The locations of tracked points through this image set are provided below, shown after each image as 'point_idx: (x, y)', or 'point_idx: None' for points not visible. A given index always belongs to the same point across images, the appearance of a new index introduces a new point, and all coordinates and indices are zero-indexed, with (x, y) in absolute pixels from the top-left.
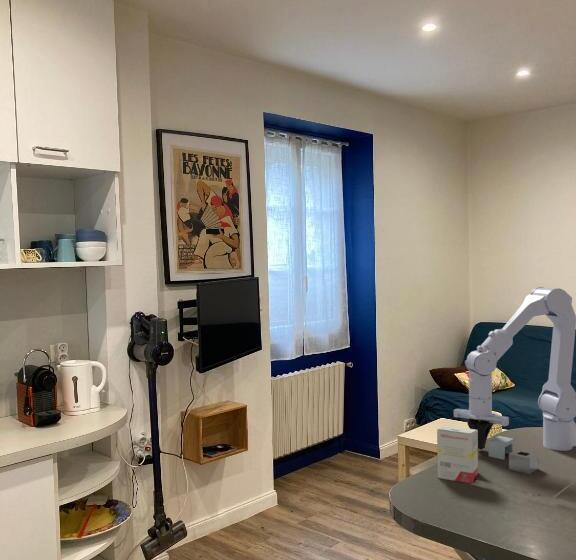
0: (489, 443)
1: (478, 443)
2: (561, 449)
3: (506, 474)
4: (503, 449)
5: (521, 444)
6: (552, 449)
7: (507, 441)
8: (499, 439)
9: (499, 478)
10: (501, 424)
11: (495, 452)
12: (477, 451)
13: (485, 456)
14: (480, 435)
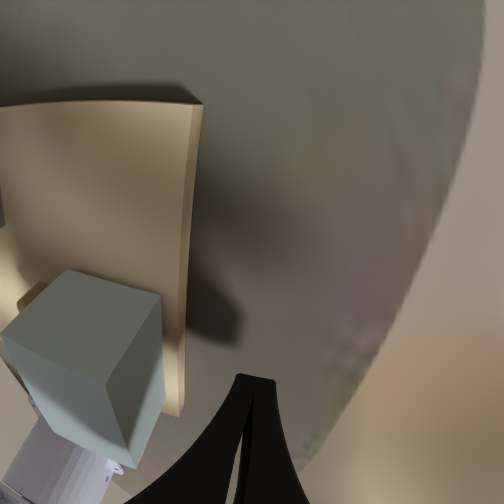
0: (108, 365)
1: (249, 405)
2: (41, 420)
3: (23, 102)
4: (26, 307)
5: None
6: None
7: (30, 389)
8: (82, 420)
9: (34, 17)
10: (11, 499)
11: (93, 304)
12: None
13: (229, 352)
14: (208, 460)
